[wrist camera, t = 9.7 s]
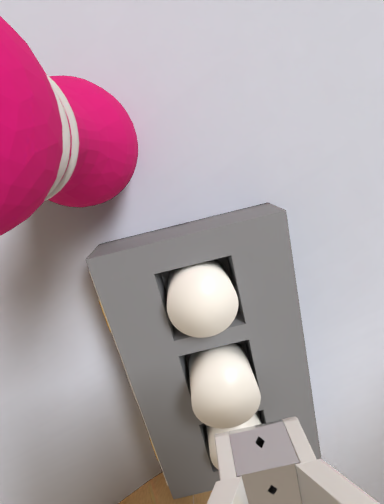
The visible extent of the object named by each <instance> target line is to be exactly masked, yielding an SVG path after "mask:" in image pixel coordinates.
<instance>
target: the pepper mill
mask: <svg viewBox="0 0 384 504" xmlns="http://www.w3.org/2000/svg"><path fill="white" fill-rule="evenodd" d="M137 157H138V143H137V136H136V132H135V129H134V126H133V123H132V121H131V119H130V117H129V115H128V114H127V112H126V111H125V109H124V108H123V106H122V105H121V104H120V103H119V102H118V101H117V100H116V99H115V98H114V97H113V96H112V95H111V94H109V93H108V92H107V91H105V90H104V89H102V88H101V87H99V86H97V85H95V84H93V83H91V82H89V81H87V80H85V79H81V78H77V77H72V76H48V75H47V74H46V73H45V71H44V70H43V68H42V67H41V65H40V64H39V62H38V60H37V59H36V57H35V56H34V54H33V52H32V51H31V49H30V48H29V46H28V45H27V43H26V42H25V41H24V40H23V39H22V38H21V37H20V36H19V35H18V34H17V32H16V31H15V30H14V29H13V28H12V27H11V26H10V25H9V24H8V23H7V22H6V21H5V20H4V19H3V18H2V17H1V16H0V235H2V234H4V233H6V232H8V231H9V230H11V229H13V228H14V227H16V226H17V225H19V224H20V223H22V222H23V221H25V220H26V219H27V218H29V217H30V216H31V215H32V214H33V213H34V212H35V211H36V210H37V208H38V207H39V206H40V205H41V204H42V203H43V202H44V201H46V200H50V201H52V202H55V203H57V204H60V205H64V206H69V207H87V206H93V205H97V204H101V203H103V202H106V201H108V200H110V199H112V198H113V197H115V196H116V195H117V194H119V193H120V192H121V191H122V190H123V189H124V188H125V186H126V185H127V184H128V182H129V181H130V179H131V177H132V175H133V173H134V170H135V167H136V163H137Z"/></svg>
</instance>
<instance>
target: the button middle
mask: <svg viewBox="0 0 384 504" xmlns="http://www.w3.org/2000/svg"><path fill="white" fill-rule="evenodd" d="M189 375H190V389H191V402H192V409H193V412H194V414H195V416H196V417H197V418H198V419H199V420H200V421H201V422H202V423H204V424H206V425H208V426H210V427H214V428H220V429H226V428H233V427H236V426H239V425H241V424H243V423H245V422H247V421H248V420H249V419H251V418H252V417H253V416H254V414H255V413H256V412H257V410H258V408H259V405H260V401H261V395H260V390H259V388H258V385H257V382H256V380H255V377H254V374H253V372H252V369H251V366H250V364H249V361H248V358H247V356H246V353H245V351H244V349H243V348H242V347H241V346H240V345H239V344H238V343H237V342H236V343H232V344H228V345H224V346H220V347H216V348H211V349H207V350H203V351H199V352H195V353H192V354H191V356H190V359H189Z"/></svg>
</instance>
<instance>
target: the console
mask: <svg viewBox="0 0 384 504" xmlns="http://www.w3.org/2000/svg"><path fill="white" fill-rule="evenodd" d="M214 259H216V260H218V261H219V262H220V263H221V264H222V265H223V267H224V268H225V270H226V272H227V274H228V277H229V279H230V281H231V283H232V285H233V287H234V289H235V291H236V293H237V297H238V311H237V315H236V317H235V319H234V320H233V322H232V323H231V325H230V326H229V327H228V328H227V329H225V330H224V331H223V332H221V333H219V334H217V335H214V336H211V337H205V338H197V337H192V336H188V335H186V334H184V333H182V332H180V331H179V330H178V329H177V328H176V327H175V326H174V325H173V324H172V322H171V321H170V319H169V316H168V312H167V292H168V278H169V274H170V272H171V270H174V269H178V268H182V267H186V266H190V265H194V264H198V263H202V262H206V261H210V260H214ZM86 263H87V265H88V268H89V274H90V276H91V279H92V282H93V284H94V287H95V290H96V293H97V295H98V298H99V303H100V306H101V308H102V311H103V314H104V317H105V319H106V322H107V325H108V327H109V330H110V332H111V333H112V336H113V339H114V342H115V344H116V347H117V350H118V352H119V355H120V358H121V361H122V363H123V366H124V369H125V371H126V374H127V375H126V376H127V379H128V382H129V384H130V387H131V390H132V392H133V395H134V398H135V401H136V402H137V404H138V407H139V409H140V412H141V415H142V418H143V420H144V423H145V426H146V428H147V431H148V434H149V437H150V441H151V444H152V447H153V449H154V452H155V455H156V457H157V460H158V461H159V464H160V466H161V469H162V472H163V475H164V477H165V480H166V483H167V485H168V486H169V489H170V491H171V494H172V497H173V500H174V499H178V498H182V497H186V496H191V495H195V494H199V493H203V492H208V491H212V490H213V488H214V485H215V483H216V482H217V481H220V476H219V470H218V469H217V468H216V467H215V466H214V465H213V463H212V461H211V458H210V451H209V443H208V435H207V427H206V424H204V423H202V422H201V421H200V420H199V419H198V418H197V417H196V416H195V414H194V412H193V409H192V402H191V389H190V375H189V359H190V356H191V354H192V353H195V352H199V351H203V350H207V349H211V348H216V347H220V346H224V345H228V344H232V343H236V342H237V343H238V344H239V345H240V346H241V347H242V348H243V349H244V351H245V353H246V356H247V358H248V361H249V364H250V366H251V369H252V372H253V374H254V377H255V380H256V382H257V385H258V388H259V390H260V395H261V401H260V405H259V408H258V410H257V411H258V414H259V417H260V420H261V423H262V424H263V423H267V422H272V421H276V420H280V419H281V420H282V419H285V418H290V417H294V416H296V417H297V418H298V420H299V422H300V425H301V427H302V429H303V431H304V433H305V435H306V437H307V440H308V442H309V444H310V446H311V448H312V450H313V452H314V455H315V457H316V459H321V453H320V446H319V439H318V432H317V425H316V418H315V411H314V404H313V397H312V390H311V383H310V376H309V369H308V362H307V355H306V348H305V341H304V334H303V327H302V320H301V313H300V306H299V299H298V292H297V285H296V278H295V271H294V264H293V257H292V250H291V243H290V236H289V229H288V222H287V215H286V210H284V209H282V208H279V207H277V206H275V205H272V204H270V203H264V204H260V205H256V206H252V207H248V208H244V209H240V210H236V211H232V212H228V213H224V214H220V215H216V216H212V217H208V218H204V219H199V220H195V221H191V222H187V223H183V224H179V225H175V226H171V227H167V228H163V229H159V230H155V231H151V232H147V233H143V234H139V235H135V236H131V237H127V238H122V239H118V240H114V241H110V242H106V243H102V244H99V245H98V246H97V247H96V249H95V250H94V251H93V252H92V253H91V254H90V255H89V256H88V257H87V259H86Z"/></svg>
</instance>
